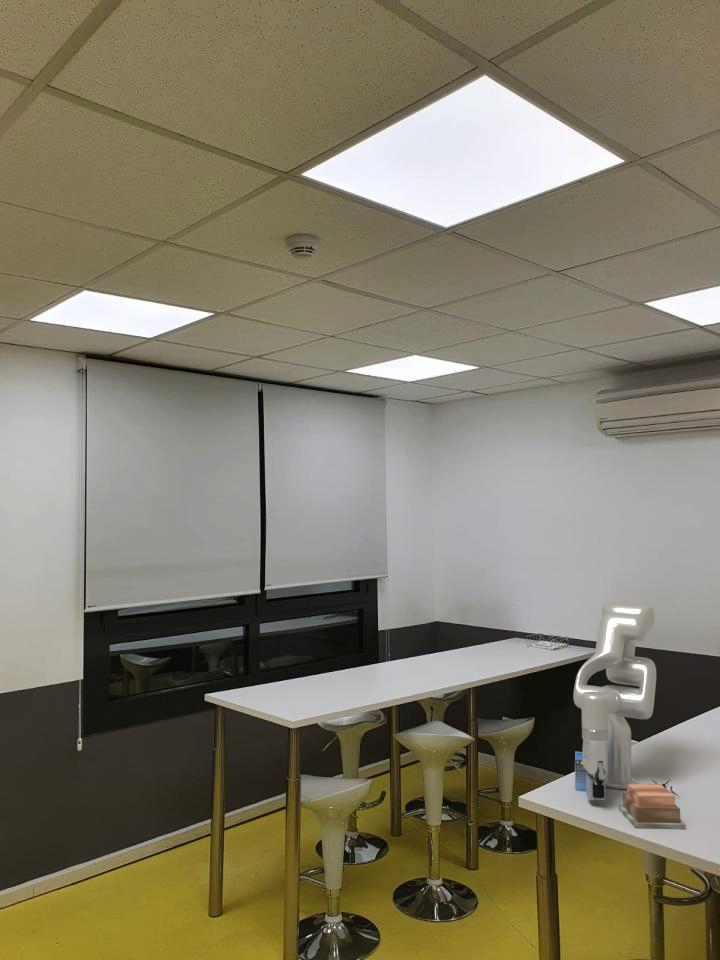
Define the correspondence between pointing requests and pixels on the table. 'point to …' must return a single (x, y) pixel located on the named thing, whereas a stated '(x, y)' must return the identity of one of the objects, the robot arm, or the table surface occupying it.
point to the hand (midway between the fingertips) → (595, 793)
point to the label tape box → (580, 773)
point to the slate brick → (590, 787)
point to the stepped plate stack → (651, 807)
